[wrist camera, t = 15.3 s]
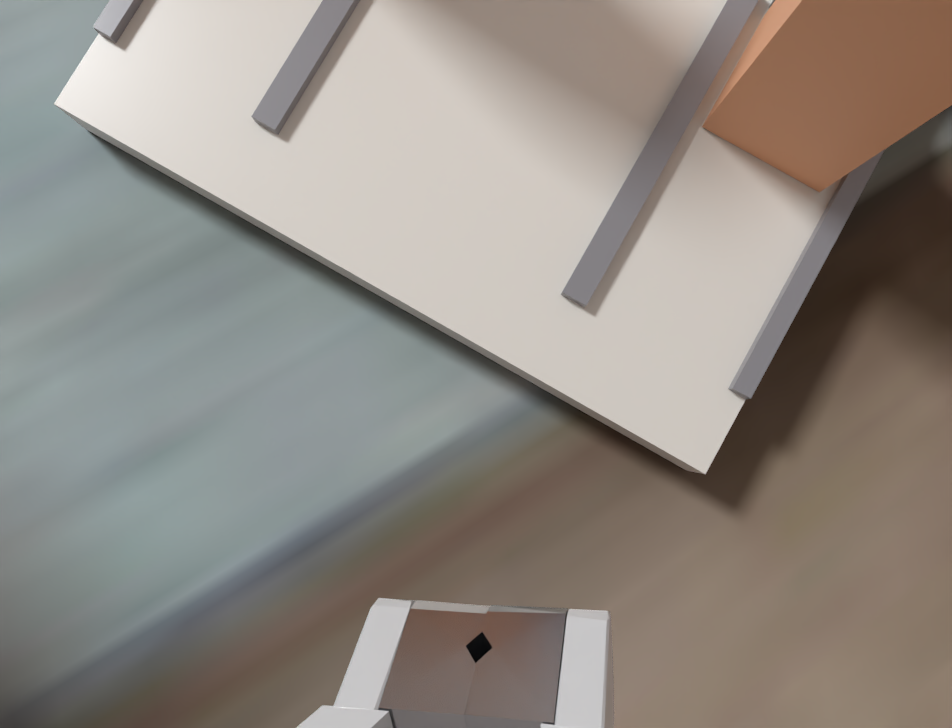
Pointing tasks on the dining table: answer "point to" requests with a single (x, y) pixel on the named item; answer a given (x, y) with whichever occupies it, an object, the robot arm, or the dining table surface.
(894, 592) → the dining table surface
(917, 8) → the orange rectangular block
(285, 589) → the dining table surface
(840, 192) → the white base plate
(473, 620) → the robot arm
